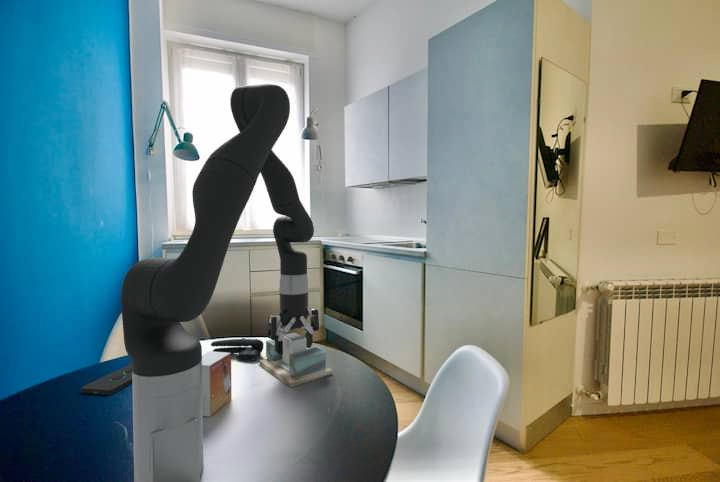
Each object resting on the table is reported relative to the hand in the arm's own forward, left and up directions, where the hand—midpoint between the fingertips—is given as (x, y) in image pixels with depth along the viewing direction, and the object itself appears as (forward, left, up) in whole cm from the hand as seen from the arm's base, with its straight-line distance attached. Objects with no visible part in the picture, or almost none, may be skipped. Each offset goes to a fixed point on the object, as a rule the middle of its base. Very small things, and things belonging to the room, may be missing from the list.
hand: (294, 350), depth 93 cm
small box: (-6, +24, -5) cm, 25 cm away
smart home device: (+24, +35, -6) cm, 42 cm away
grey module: (0, 0, -3) cm, 3 cm away
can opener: (+21, +8, -6) cm, 23 cm away
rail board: (0, 0, -5) cm, 5 cm away
